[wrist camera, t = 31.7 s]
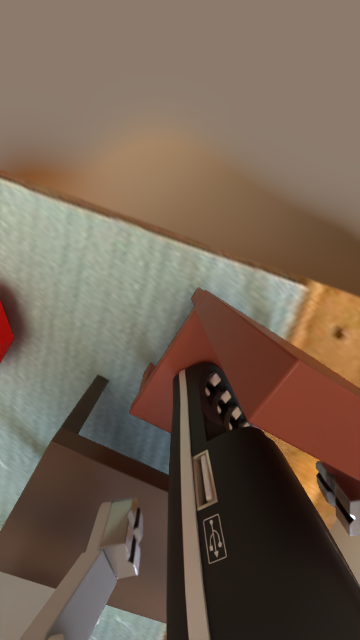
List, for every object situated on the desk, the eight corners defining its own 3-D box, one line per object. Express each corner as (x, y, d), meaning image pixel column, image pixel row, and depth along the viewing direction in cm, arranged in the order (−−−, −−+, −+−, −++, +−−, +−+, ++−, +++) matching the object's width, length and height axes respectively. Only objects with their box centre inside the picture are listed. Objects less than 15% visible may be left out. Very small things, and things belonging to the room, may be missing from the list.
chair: (218, 413, 21) (311, 728, 7) (141, 373, 19) (50, 662, 5) (278, 335, 19) (599, 546, 5) (197, 283, 17) (299, 359, 3)
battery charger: (265, 421, 15) (549, 906, 4) (219, 444, 15) (342, 941, 4) (219, 343, 13) (475, 791, 2) (168, 372, 13) (141, 872, 2)
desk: (170, 516, 25) (168, 625, 17) (46, 465, 22) (-20, 566, 15) (231, 441, 22) (260, 531, 15) (98, 374, 20) (50, 441, 12)
